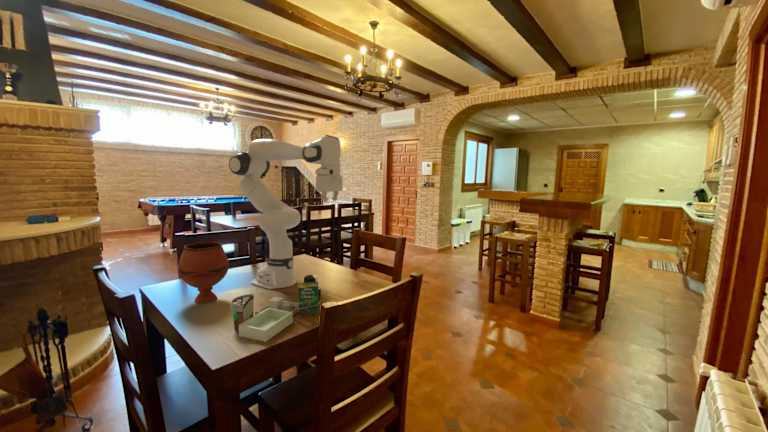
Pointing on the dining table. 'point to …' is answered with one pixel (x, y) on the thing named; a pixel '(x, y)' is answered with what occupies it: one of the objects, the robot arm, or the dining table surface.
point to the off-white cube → (276, 303)
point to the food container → (242, 309)
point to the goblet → (203, 268)
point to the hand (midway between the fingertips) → (330, 201)
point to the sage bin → (265, 324)
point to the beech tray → (283, 302)
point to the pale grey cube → (286, 307)
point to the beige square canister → (314, 279)
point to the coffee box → (308, 298)
